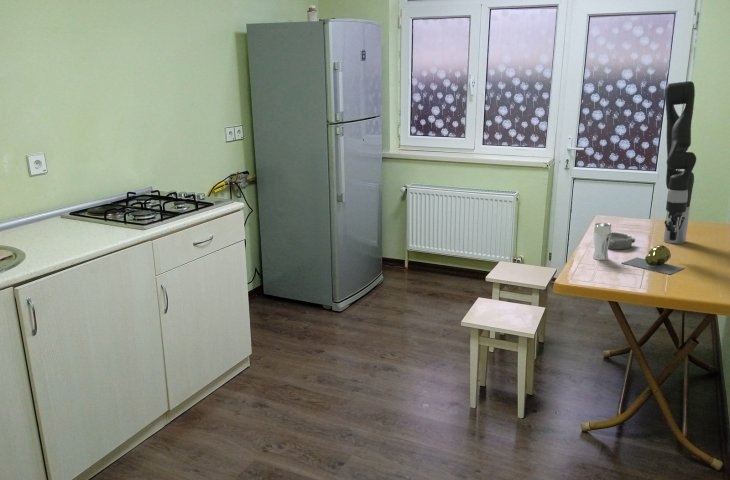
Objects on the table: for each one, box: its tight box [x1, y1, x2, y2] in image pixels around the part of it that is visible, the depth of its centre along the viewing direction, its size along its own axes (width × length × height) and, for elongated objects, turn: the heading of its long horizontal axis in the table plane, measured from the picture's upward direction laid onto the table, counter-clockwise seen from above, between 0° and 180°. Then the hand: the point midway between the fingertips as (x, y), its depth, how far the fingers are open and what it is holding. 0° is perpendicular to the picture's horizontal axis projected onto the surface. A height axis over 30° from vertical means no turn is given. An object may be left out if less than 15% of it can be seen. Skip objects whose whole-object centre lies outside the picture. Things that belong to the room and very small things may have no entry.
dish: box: [608, 231, 636, 250], centre depth 271 cm, size 14×14×5 cm
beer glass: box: [592, 222, 612, 261], centre depth 252 cm, size 7×7×15 cm
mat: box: [621, 256, 685, 275], centre depth 242 cm, size 12×20×1 cm, turn 37°
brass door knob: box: [644, 244, 672, 266], centre depth 241 cm, size 7×7×10 cm
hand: (672, 240), depth 249 cm, fingers closed
